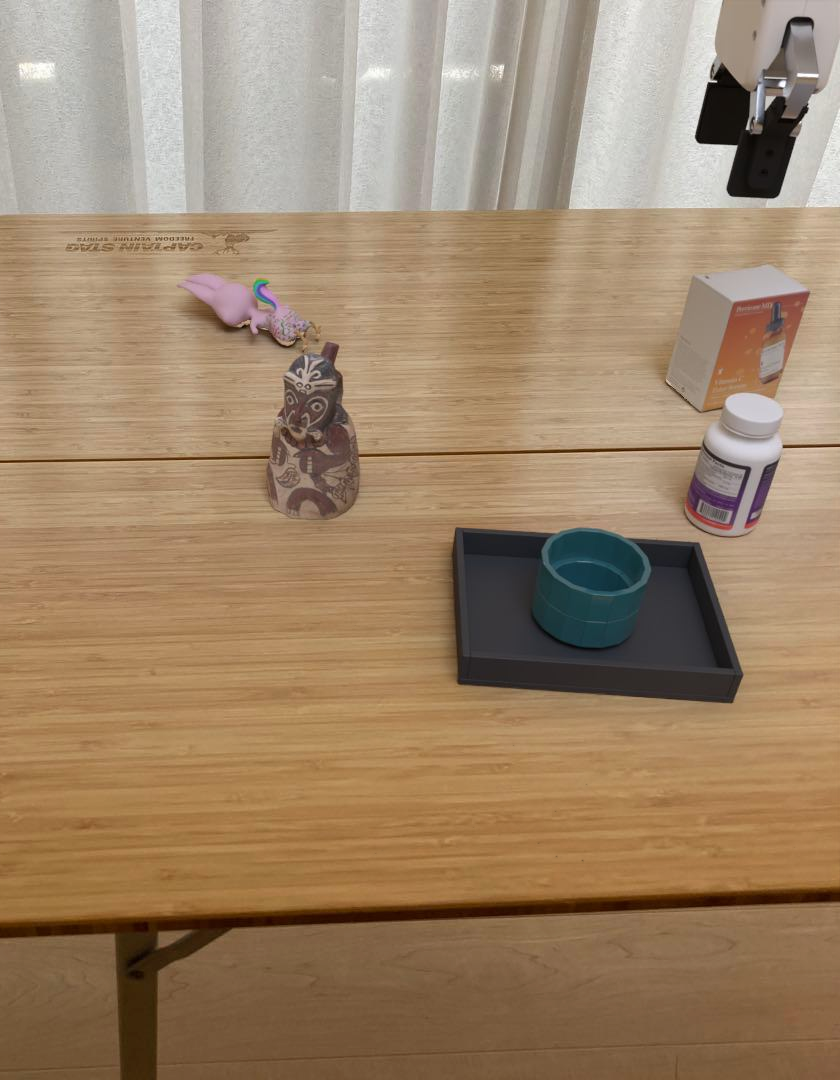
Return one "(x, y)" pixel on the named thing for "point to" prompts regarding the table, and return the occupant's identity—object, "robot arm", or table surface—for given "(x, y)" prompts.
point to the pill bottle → (736, 466)
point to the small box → (735, 334)
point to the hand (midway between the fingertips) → (733, 168)
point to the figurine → (313, 442)
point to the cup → (590, 587)
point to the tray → (624, 669)
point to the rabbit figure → (248, 306)
